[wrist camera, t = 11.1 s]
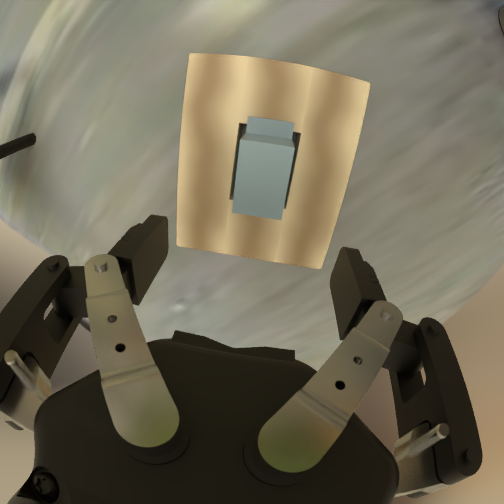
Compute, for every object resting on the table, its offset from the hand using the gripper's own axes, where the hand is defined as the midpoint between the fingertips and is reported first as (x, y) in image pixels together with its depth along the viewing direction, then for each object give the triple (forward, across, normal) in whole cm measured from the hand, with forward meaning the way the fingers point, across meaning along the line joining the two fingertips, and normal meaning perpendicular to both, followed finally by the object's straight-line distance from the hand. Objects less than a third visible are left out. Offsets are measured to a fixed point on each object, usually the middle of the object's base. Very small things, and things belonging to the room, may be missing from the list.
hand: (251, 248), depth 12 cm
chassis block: (+19, 0, 0) cm, 19 cm away
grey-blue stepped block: (+18, 0, 0) cm, 18 cm away
